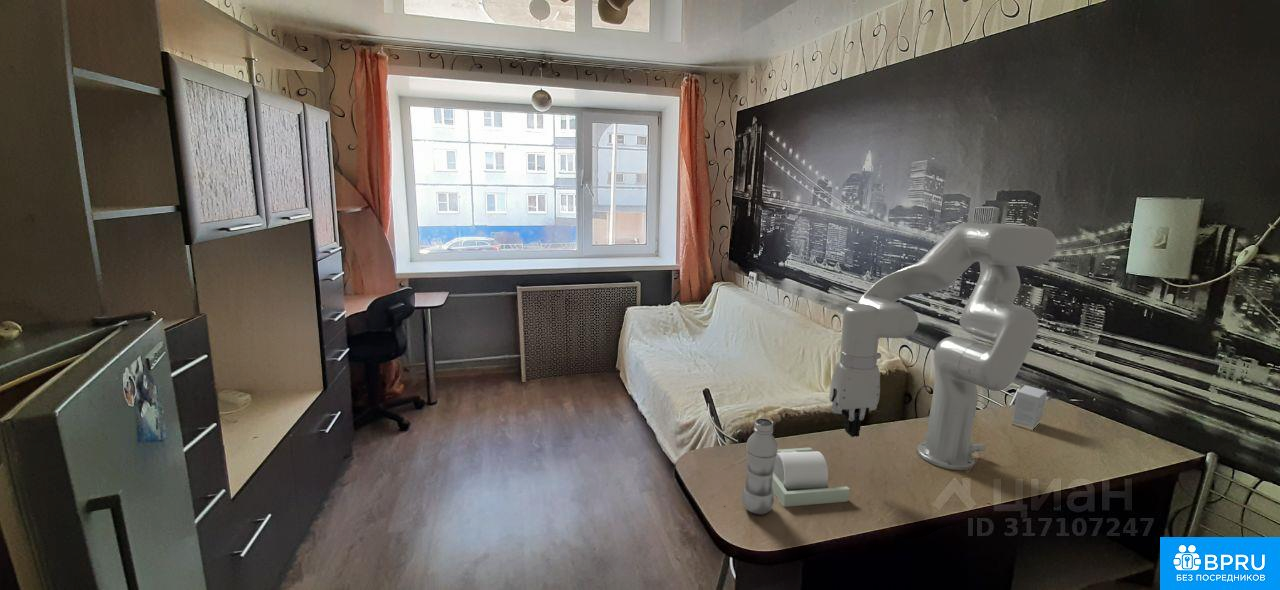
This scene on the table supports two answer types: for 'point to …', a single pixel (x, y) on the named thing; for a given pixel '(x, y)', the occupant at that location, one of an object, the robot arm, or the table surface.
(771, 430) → the plastic bottle
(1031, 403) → the small box
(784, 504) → the green u-shaped bracket
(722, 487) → the table surface
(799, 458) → the mug
